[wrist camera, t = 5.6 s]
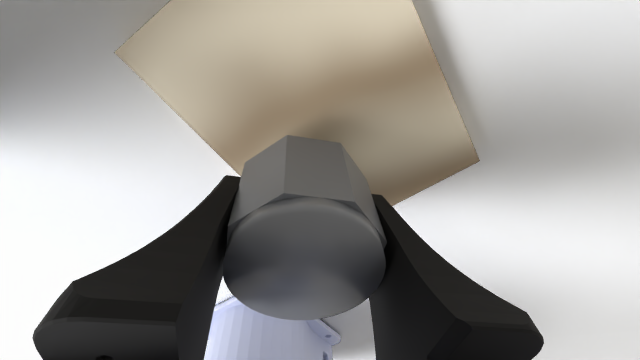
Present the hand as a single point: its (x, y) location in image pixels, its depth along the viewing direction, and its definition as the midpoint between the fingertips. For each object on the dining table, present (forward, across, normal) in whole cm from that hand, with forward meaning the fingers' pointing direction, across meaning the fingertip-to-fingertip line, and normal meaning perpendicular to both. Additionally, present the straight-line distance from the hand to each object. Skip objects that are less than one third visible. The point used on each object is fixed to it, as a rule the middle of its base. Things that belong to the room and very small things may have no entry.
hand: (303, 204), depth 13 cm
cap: (+1, 0, 0) cm, 1 cm away
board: (+3, 0, -3) cm, 5 cm away
